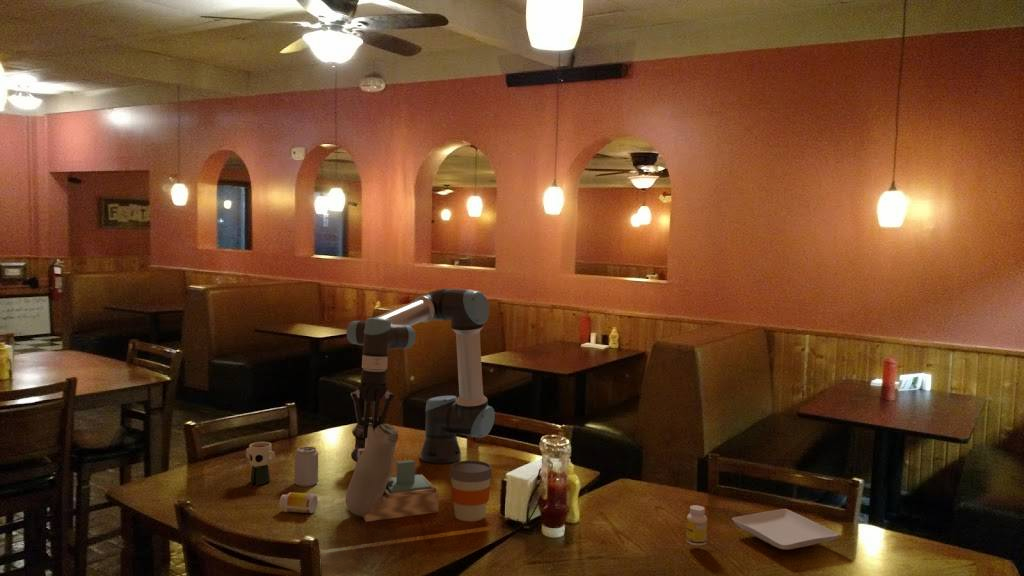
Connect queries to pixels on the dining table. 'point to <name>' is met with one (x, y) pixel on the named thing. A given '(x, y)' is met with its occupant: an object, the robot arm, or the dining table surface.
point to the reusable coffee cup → (470, 489)
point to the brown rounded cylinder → (372, 471)
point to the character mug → (260, 461)
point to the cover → (406, 478)
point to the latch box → (405, 503)
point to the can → (306, 466)
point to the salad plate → (785, 529)
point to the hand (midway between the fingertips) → (368, 448)
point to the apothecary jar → (358, 439)
